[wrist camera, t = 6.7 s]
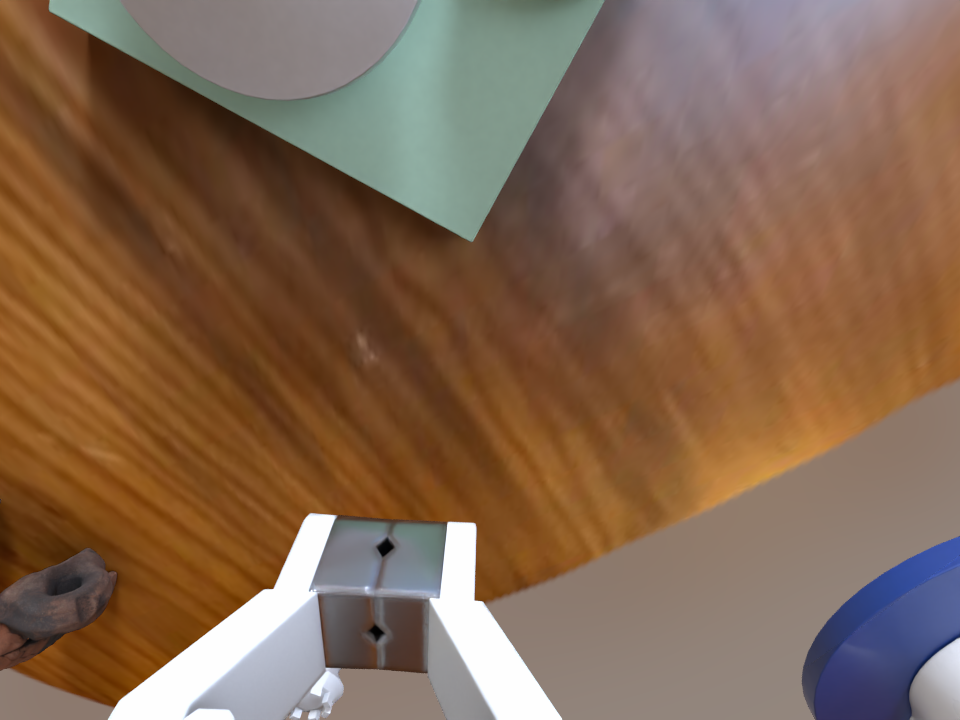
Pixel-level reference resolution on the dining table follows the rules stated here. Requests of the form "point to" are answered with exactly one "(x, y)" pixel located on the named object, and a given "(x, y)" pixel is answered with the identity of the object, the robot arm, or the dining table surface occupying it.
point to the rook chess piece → (320, 696)
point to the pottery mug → (52, 605)
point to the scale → (409, 98)
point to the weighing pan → (276, 41)
